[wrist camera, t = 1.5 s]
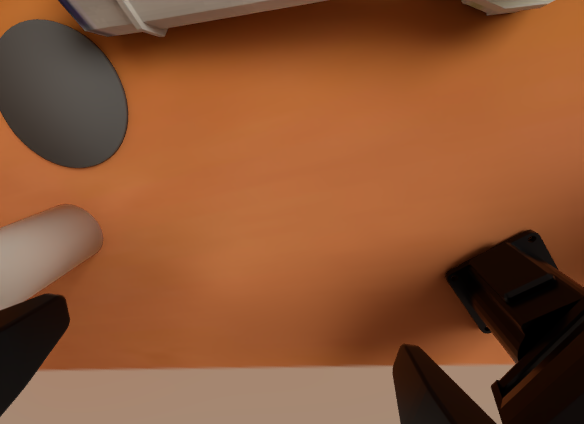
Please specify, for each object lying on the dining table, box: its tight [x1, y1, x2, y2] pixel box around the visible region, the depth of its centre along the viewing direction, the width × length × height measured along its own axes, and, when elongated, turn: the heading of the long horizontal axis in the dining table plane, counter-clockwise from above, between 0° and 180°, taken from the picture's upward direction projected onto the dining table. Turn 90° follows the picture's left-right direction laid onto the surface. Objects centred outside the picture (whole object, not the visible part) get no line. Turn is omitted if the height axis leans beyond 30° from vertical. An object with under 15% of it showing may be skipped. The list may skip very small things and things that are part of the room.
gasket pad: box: [0, 19, 128, 168], centre depth 19 cm, size 9×9×1 cm
